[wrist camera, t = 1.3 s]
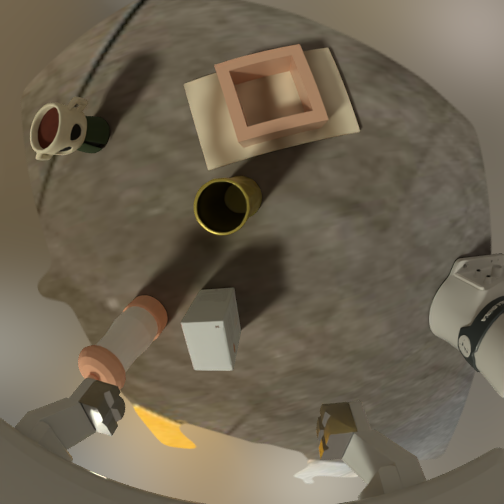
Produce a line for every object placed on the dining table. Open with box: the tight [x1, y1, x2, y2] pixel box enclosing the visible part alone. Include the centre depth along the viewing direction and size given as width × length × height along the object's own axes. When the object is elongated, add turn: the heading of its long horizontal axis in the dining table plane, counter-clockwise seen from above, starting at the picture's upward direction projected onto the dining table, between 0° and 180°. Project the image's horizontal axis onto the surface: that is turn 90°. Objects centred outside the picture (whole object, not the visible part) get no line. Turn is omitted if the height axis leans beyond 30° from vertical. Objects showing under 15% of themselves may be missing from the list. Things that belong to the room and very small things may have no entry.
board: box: [184, 48, 360, 170], centre depth 33 cm, size 22×14×1 cm, turn 106°
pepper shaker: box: [78, 295, 168, 390], centre depth 35 cm, size 7×7×19 cm
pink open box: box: [214, 44, 329, 148], centre depth 30 cm, size 11×11×6 cm
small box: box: [181, 287, 241, 370], centre depth 37 cm, size 8×6×10 cm
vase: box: [194, 176, 262, 235], centre depth 31 cm, size 6×6×14 cm
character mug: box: [30, 97, 109, 160], centre depth 30 cm, size 11×7×13 cm, turn 132°
